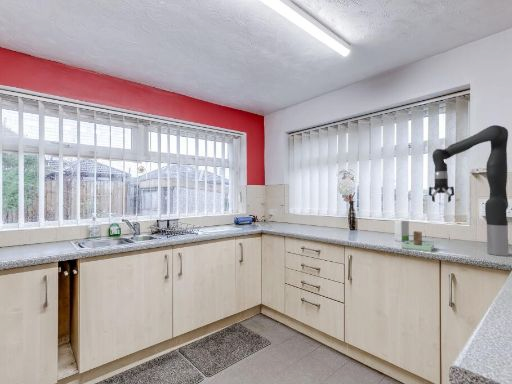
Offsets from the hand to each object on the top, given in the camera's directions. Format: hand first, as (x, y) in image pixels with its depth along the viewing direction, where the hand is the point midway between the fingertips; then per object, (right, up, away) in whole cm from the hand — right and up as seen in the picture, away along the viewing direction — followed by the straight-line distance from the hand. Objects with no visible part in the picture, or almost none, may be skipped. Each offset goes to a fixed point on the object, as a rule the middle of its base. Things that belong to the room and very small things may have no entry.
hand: (441, 201), depth 186 cm
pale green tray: (-22, -30, -9) cm, 38 cm away
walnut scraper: (-22, -29, -9) cm, 37 cm away
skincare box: (-16, -31, +21) cm, 40 cm away
